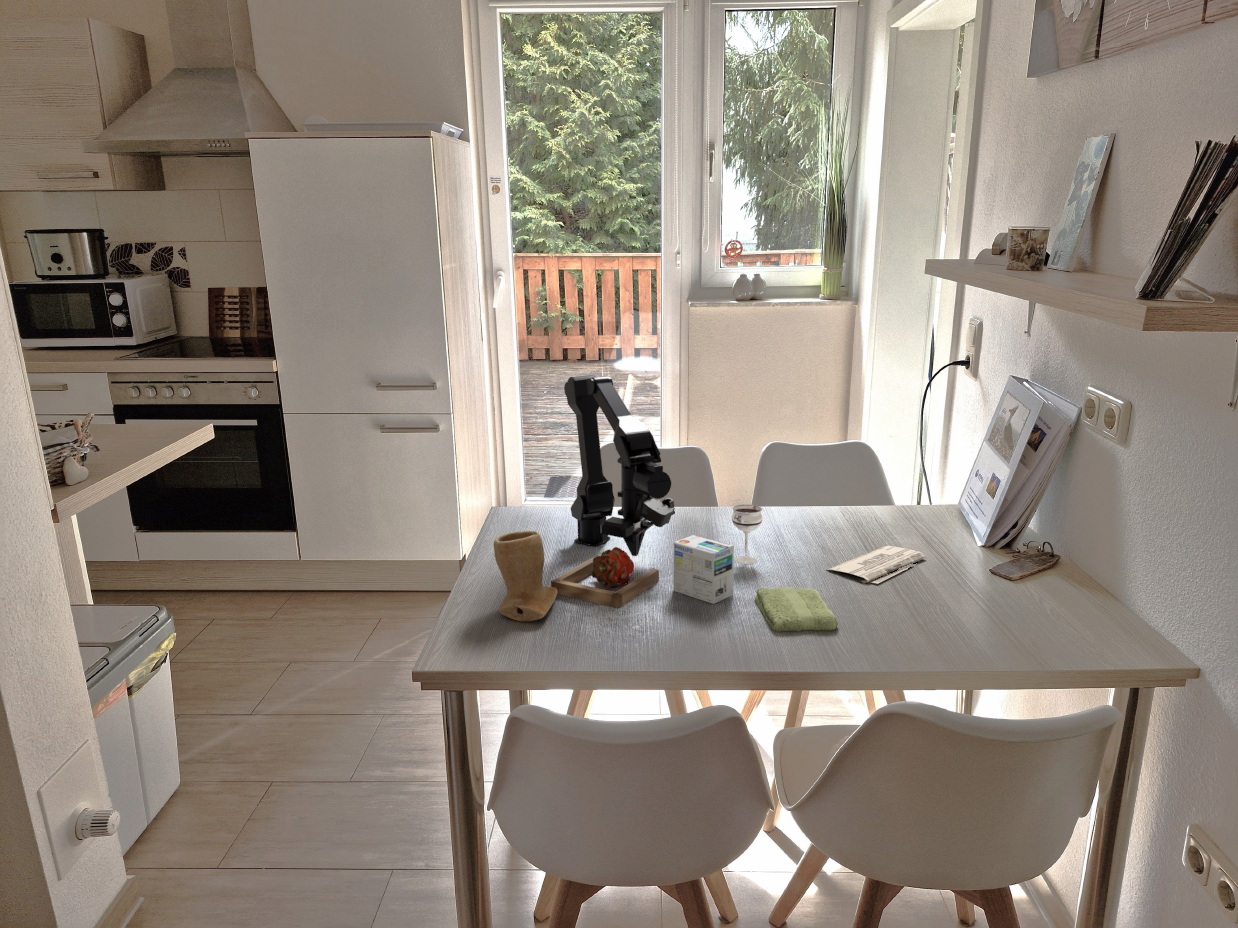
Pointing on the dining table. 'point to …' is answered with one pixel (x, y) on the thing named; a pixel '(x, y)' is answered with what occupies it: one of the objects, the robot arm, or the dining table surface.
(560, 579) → the frame
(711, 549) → the light bulb box
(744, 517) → the wineglass
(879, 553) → the newspaper
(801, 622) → the washcloth
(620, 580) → the dragon fruit
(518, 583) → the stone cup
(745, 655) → the dining table surface
